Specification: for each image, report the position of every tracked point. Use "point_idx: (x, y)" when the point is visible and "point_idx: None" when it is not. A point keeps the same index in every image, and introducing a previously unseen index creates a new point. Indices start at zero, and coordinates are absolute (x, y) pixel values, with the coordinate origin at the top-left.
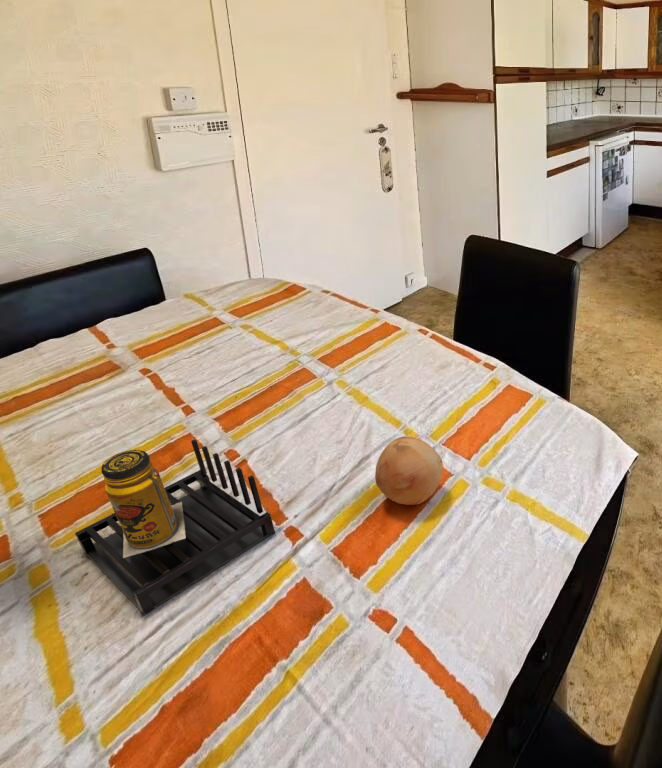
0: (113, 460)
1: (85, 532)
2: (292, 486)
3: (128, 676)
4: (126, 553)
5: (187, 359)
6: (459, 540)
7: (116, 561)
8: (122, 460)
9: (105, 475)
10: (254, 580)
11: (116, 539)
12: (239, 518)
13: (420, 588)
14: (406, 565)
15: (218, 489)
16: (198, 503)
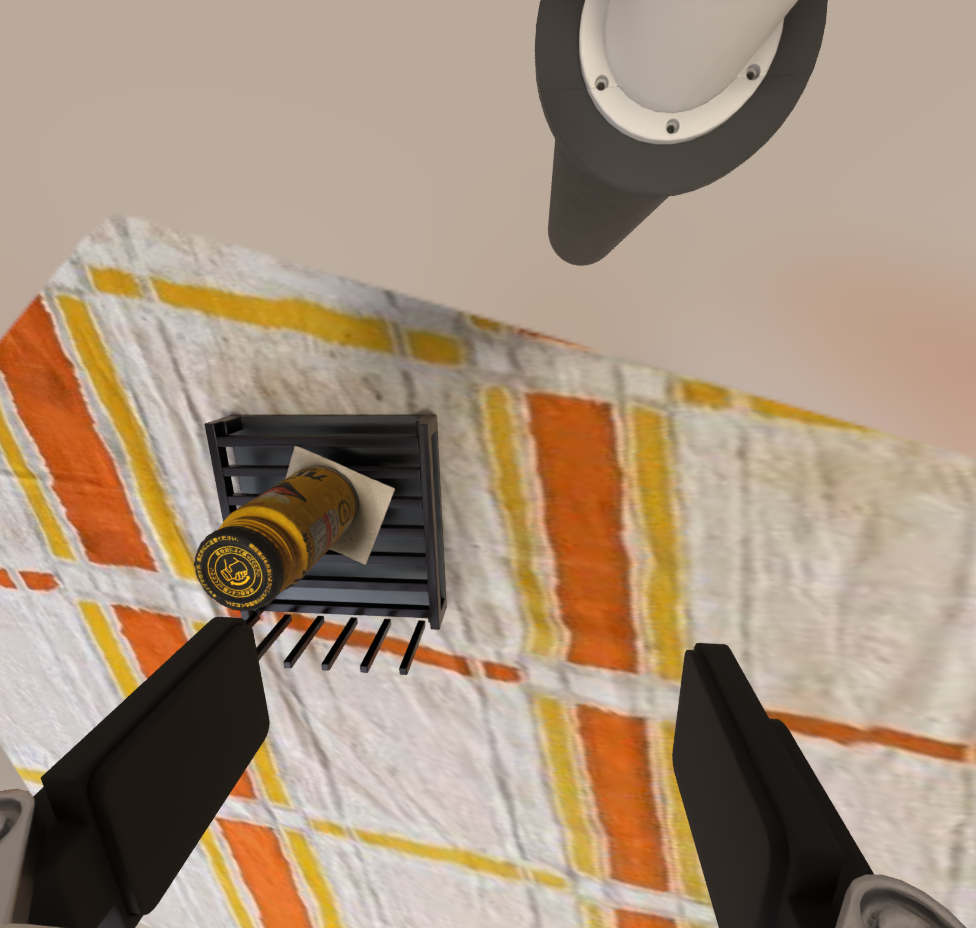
0: (254, 561)
1: (418, 435)
2: (343, 671)
3: (141, 356)
4: (304, 454)
5: (952, 823)
6: (93, 706)
7: (304, 436)
8: (242, 571)
9: (224, 528)
10: (194, 533)
11: (417, 459)
12: (323, 590)
13: (54, 632)
14: (96, 648)
15: (359, 612)
16: (406, 575)
